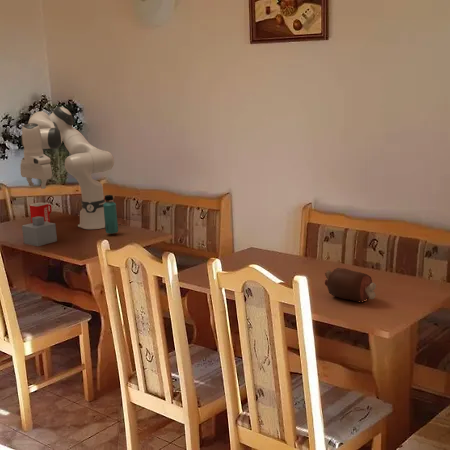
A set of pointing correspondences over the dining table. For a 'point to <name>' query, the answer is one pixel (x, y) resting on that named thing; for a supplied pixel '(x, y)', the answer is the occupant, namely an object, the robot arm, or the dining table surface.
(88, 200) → the robot arm
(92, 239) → the dining table surface
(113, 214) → the beverage bottle
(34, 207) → the mug
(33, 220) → the gray lidded box
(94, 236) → the dining table surface
